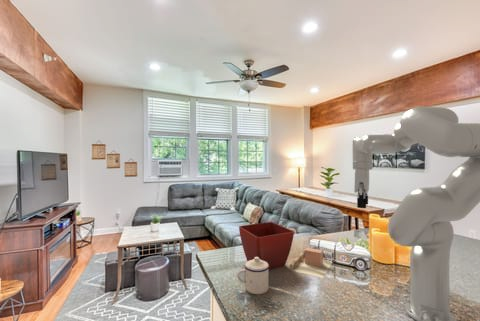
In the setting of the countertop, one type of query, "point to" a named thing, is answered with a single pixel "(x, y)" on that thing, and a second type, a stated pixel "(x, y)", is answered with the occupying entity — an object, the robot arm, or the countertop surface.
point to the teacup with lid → (256, 276)
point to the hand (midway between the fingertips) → (362, 205)
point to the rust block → (314, 256)
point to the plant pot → (267, 243)
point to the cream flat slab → (309, 266)
